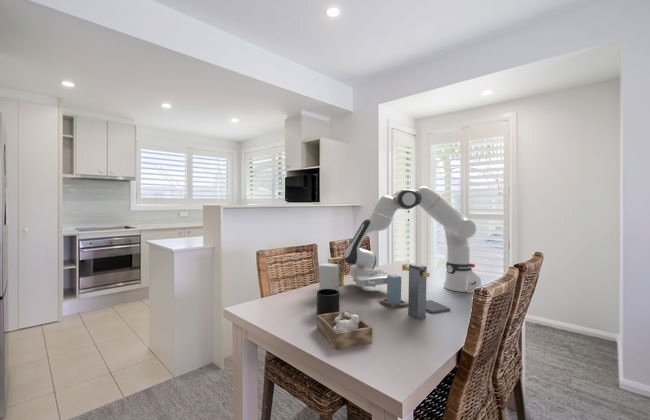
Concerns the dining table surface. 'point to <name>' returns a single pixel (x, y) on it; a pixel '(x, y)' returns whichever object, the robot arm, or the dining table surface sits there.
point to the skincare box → (329, 276)
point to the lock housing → (417, 291)
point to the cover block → (393, 289)
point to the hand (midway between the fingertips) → (383, 284)
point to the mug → (327, 301)
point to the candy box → (341, 267)
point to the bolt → (423, 273)
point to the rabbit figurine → (346, 323)
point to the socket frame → (384, 301)
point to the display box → (347, 337)
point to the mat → (435, 307)
